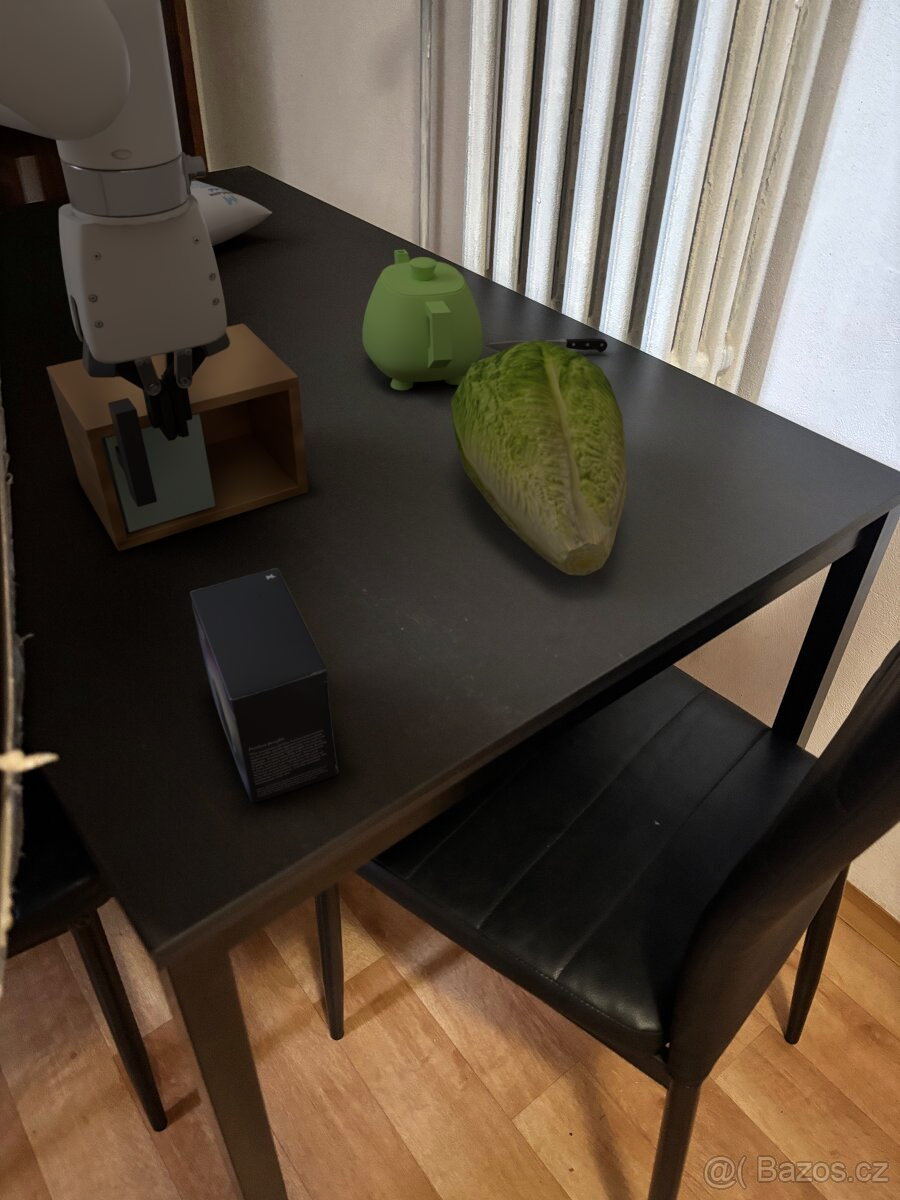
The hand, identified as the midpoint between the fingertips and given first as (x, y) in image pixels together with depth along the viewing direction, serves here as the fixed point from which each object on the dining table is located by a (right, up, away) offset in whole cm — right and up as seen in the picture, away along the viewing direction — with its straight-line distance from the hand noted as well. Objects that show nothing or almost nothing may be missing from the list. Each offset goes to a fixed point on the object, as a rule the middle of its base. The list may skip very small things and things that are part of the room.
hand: (172, 430), depth 71 cm
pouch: (-17, +38, +60) cm, 73 cm away
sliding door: (-2, -7, +8) cm, 10 cm away
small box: (+9, -23, -8) cm, 26 cm away
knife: (+33, +16, +37) cm, 52 cm away
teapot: (+19, +13, +34) cm, 41 cm away
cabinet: (-2, -3, +14) cm, 15 cm away
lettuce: (+30, -6, +13) cm, 33 cm away
